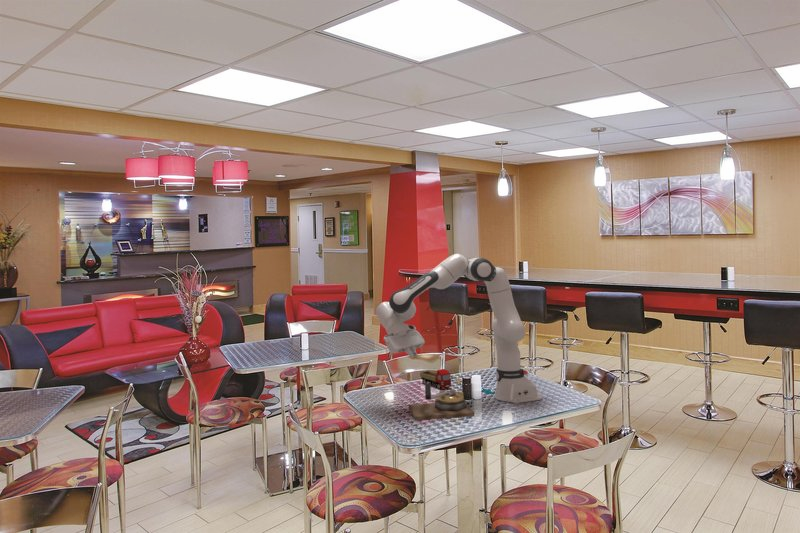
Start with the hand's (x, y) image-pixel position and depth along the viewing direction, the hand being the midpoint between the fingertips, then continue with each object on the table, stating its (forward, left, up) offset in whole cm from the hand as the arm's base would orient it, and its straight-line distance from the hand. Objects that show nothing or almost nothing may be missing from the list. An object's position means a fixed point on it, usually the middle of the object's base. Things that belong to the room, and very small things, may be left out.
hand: (414, 356), depth 234 cm
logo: (-38, -39, -26) cm, 60 cm away
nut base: (-11, 0, -25) cm, 28 cm away
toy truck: (-18, -44, -26) cm, 54 cm away
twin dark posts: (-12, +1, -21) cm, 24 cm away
